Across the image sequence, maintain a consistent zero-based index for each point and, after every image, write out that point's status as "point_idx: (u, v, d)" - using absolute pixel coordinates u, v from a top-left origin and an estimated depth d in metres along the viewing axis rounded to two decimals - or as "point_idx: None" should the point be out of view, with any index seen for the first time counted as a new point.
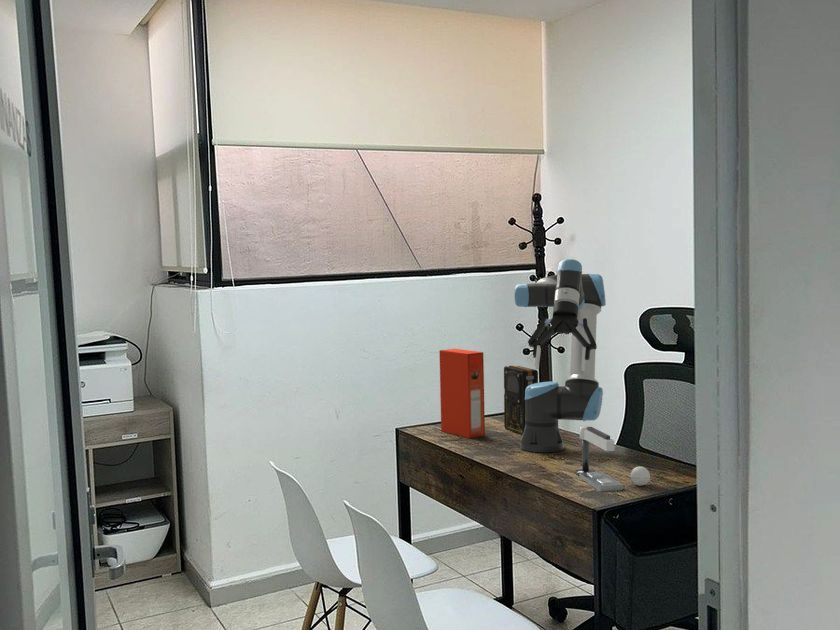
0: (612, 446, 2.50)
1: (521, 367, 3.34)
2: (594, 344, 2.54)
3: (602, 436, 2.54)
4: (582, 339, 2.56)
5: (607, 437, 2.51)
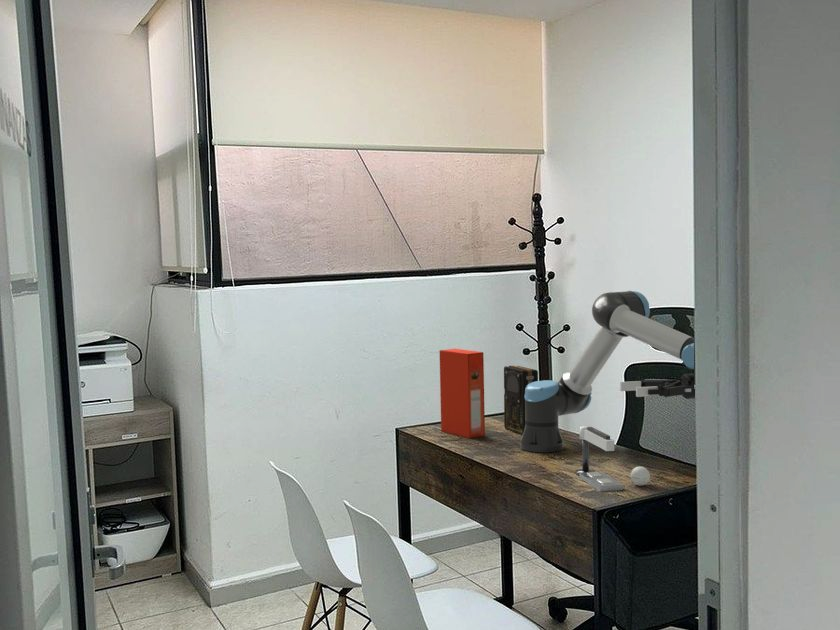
0: (612, 446, 2.50)
1: (521, 367, 3.34)
2: None
3: (602, 436, 2.54)
4: None
5: (607, 437, 2.51)
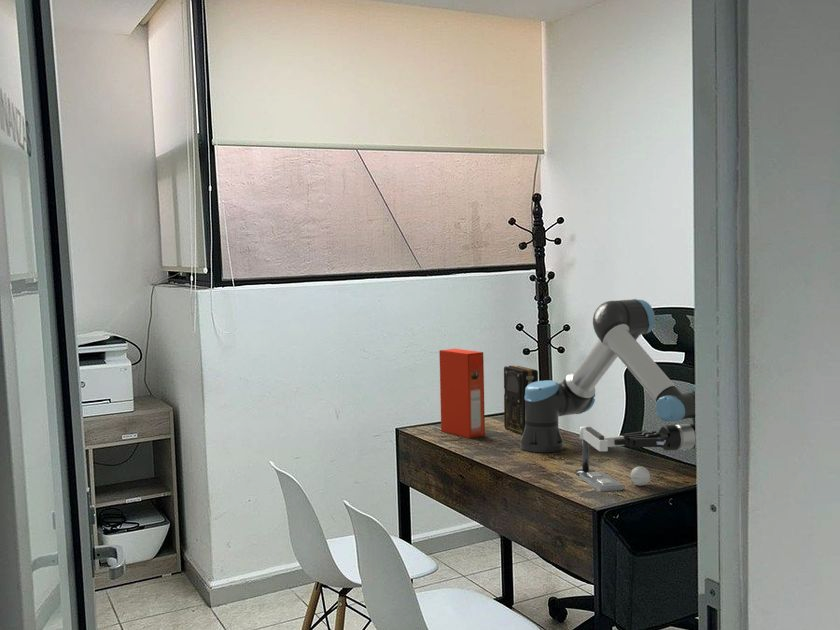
0: (605, 446, 2.50)
1: (521, 367, 3.34)
2: None
3: (597, 436, 2.53)
4: None
5: (601, 437, 2.51)
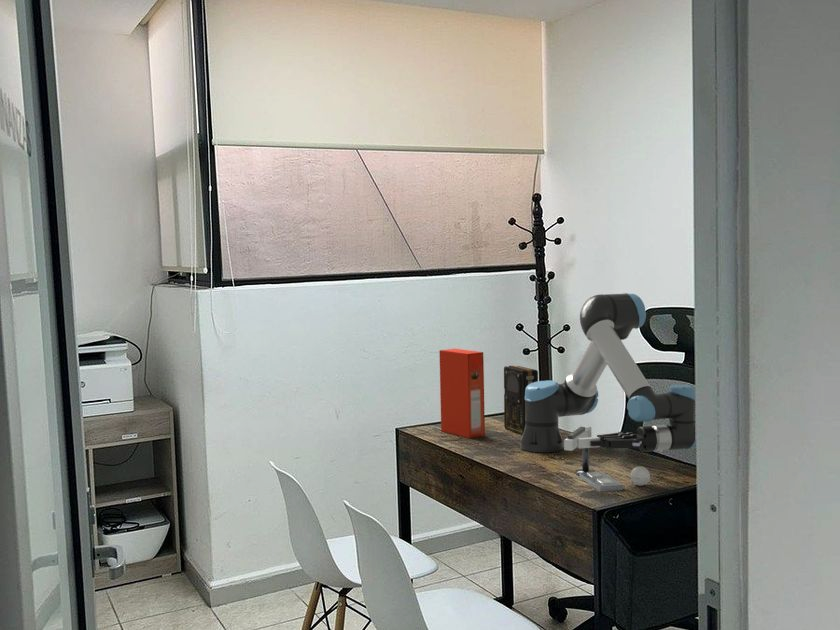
0: (570, 446, 2.51)
1: (521, 367, 3.34)
2: None
3: None
4: None
5: (569, 436, 2.53)
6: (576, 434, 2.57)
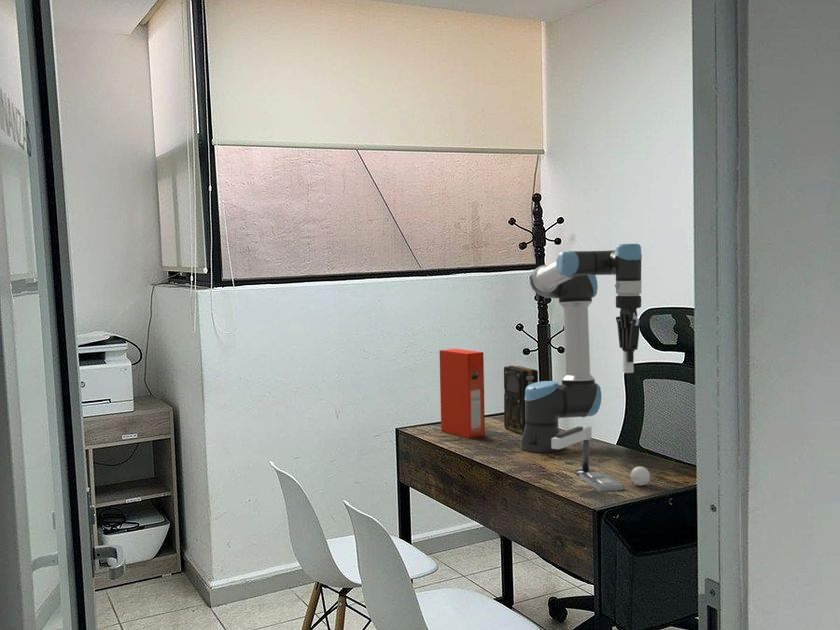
0: (557, 444, 2.53)
1: (521, 367, 3.34)
2: (629, 348, 2.58)
3: None
4: (626, 341, 2.60)
5: (557, 435, 2.55)
6: (567, 433, 2.58)
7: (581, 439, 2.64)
